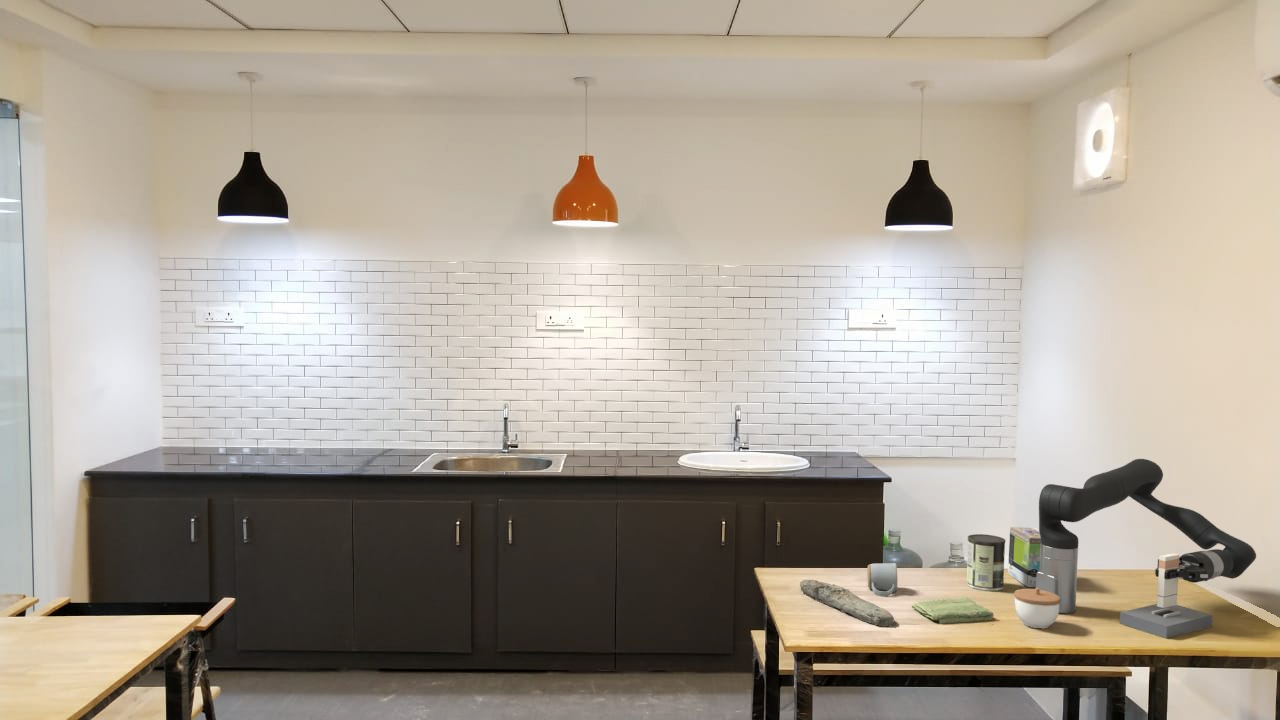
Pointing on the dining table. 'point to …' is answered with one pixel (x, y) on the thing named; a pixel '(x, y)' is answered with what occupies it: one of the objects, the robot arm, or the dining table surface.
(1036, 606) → the lidded jar
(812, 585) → the long grey stone
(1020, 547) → the green printed box
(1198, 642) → the dining table surface
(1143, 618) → the grey slotted block
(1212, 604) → the dining table surface
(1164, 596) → the banded cream bar
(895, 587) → the ceramic mug
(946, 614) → the washcloth
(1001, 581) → the coffee can
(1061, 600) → the robot arm
